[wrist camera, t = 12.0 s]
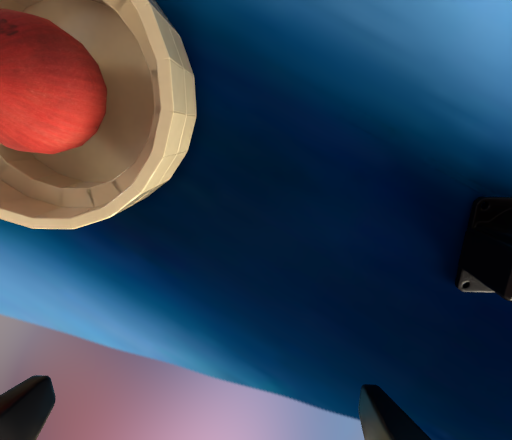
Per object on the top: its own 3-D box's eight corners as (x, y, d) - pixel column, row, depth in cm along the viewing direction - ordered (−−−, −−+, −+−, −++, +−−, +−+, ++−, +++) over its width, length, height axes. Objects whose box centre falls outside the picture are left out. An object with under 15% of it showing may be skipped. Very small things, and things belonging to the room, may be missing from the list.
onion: (13, 86, 17) (-198, 49, 9) (80, 15, 16) (-97, -95, 8) (86, 167, 18) (-46, 194, 10) (154, 107, 17) (61, 88, 9)
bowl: (191, -38, 15) (156, -114, 11) (203, 206, 19) (183, 231, 14) (-52, -34, 16) (-191, -106, 11) (8, 204, 20) (-75, 227, 15)
